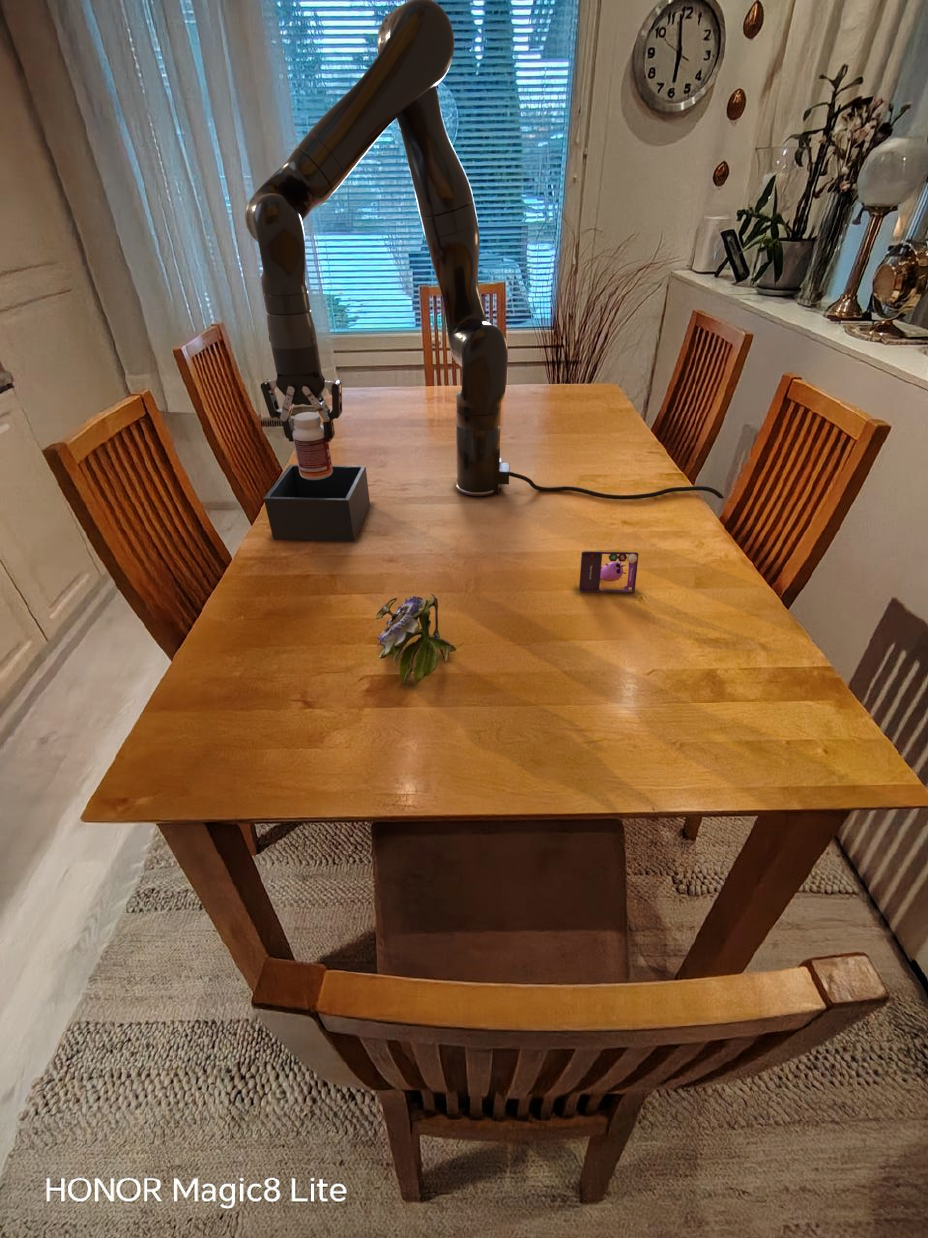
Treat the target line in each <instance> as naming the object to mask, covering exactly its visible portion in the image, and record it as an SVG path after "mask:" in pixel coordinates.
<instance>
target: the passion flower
mask: <svg viewBox="0 0 928 1238" xmlns="http://www.w3.org/2000/svg"><path fill="white" fill-rule="evenodd" d="M430 595H431V596H430V599H429V600H428V599H426V598H424V597H421V596H416V595H415V596H414V595H413V596H409V599H407V598H405V600H404V603H403V604H402V603H401V604H400V606H398V607H397V609H396V611H395V612H392V611H391V608H392V606H393V605H394V604H395V603H396V601H398V597H397V596H395V597H393V598H392V599H390V600H389V601H388V602H387V603H386V604H384V605H382V606H381V608H380V609H379V610H378V612H377V613H376V616H375V619H377V620H379V619H383V618H384V616H386V615H387V614H388V615H390V616H391V617H390V618H389V619H388V620H386V622H385V623H386V628H385V629H384V630H383V631H382V632H381V634H380V635H379V636H378V637H377V640H378V641H379V643H378V644H377V645H376V647H380V646H382V647H383V648H384V649H382V651H381V653H380V654H379V659H385V658H387V657H388V656H390V655H392V657H393V658H392V662H393V665H395V666H396V665H397V663H398V659H399V657H400V656H401V658H400V662H399V676H400V677H399V678H400V680H401V681H402V682H404V683H405V684H406V685H407V686H408V685H409V679H410V676H411V674H412V672H413V682H414V684H418V683H420V682H421V681H423V680H424V678H425V677H428V676H430V675H431V674H433V672H434V671H435V670H436V668H437V666H438V663H439V660H440V654H441V655H442V658H443V659H444V662H445V663H448V662H449V657H450V653H451V652H456V651H457V647H456V646H455V645H454V644H452V643H451V642H449V641H448V640H446V639H444V638H441V634H440V632H439V610H438V609H439V601H438V600H439V599H438V598H437V597H436V596H435V595H434V593H431V594H430ZM431 607H434V615H435V616H434V617H435V618H434V619H435V620H434V621H435V622H434V623H435V624H434V625H435V628H434V631H433V633H432V634H430V627H431V624H432V621H431V620H430V617H431V616H430V615H431V610H430V609H431ZM418 619H419V621H418ZM420 627H421V628H420ZM416 636H420V637H418V638H417V639H416V641H413V642H411V643H409V641H410V640H412V638H415V637H416ZM408 643H409V644H408ZM407 644H408V645H407ZM439 651H440V653H439ZM444 653H445V655H444ZM415 656H416V657H415ZM414 660H415V666H414ZM413 666H414V667H413Z"/></svg>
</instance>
